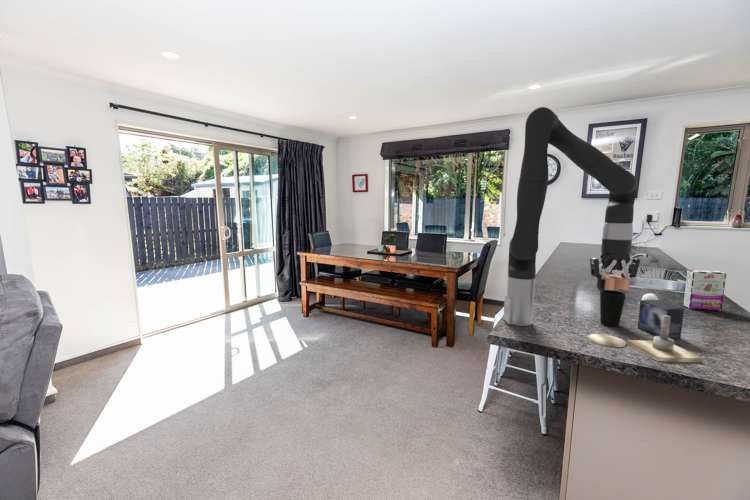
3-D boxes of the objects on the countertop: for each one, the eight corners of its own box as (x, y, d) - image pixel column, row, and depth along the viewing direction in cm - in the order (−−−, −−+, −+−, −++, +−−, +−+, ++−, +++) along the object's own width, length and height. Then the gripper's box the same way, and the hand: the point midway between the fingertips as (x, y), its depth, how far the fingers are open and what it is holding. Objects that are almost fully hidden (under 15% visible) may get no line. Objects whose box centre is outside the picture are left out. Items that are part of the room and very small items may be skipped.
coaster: (600, 346, 103) (600, 345, 103) (582, 334, 113) (582, 333, 113) (633, 347, 102) (634, 346, 102) (612, 335, 112) (612, 334, 112)
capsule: (655, 315, 133) (657, 296, 132) (638, 312, 137) (640, 293, 136) (658, 313, 136) (660, 293, 135) (642, 309, 140) (644, 291, 139)
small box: (635, 327, 120) (638, 299, 118) (652, 327, 120) (655, 299, 119) (663, 339, 109) (667, 308, 108) (681, 339, 110) (685, 308, 108)
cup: (626, 328, 118) (630, 295, 117) (602, 327, 120) (606, 294, 118) (615, 321, 126) (619, 290, 124) (593, 319, 127) (596, 289, 126)
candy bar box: (713, 308, 143) (719, 270, 141) (721, 311, 138) (727, 272, 136) (681, 305, 146) (686, 269, 144) (688, 309, 142) (693, 271, 140)
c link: (596, 285, 108) (597, 275, 108) (615, 285, 108) (616, 275, 108) (608, 290, 103) (609, 279, 102) (628, 290, 102) (629, 279, 102)
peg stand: (657, 361, 94) (661, 322, 92) (627, 343, 105) (630, 309, 104) (701, 362, 93) (707, 323, 92) (666, 344, 105) (670, 310, 103)
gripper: (632, 236, 107) (626, 288, 109) (586, 236, 107) (581, 287, 109) (650, 238, 99) (644, 294, 101) (600, 238, 100) (595, 293, 102)
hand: (611, 290), depth 105 cm, fingers closed on c link, 6 cm apart
